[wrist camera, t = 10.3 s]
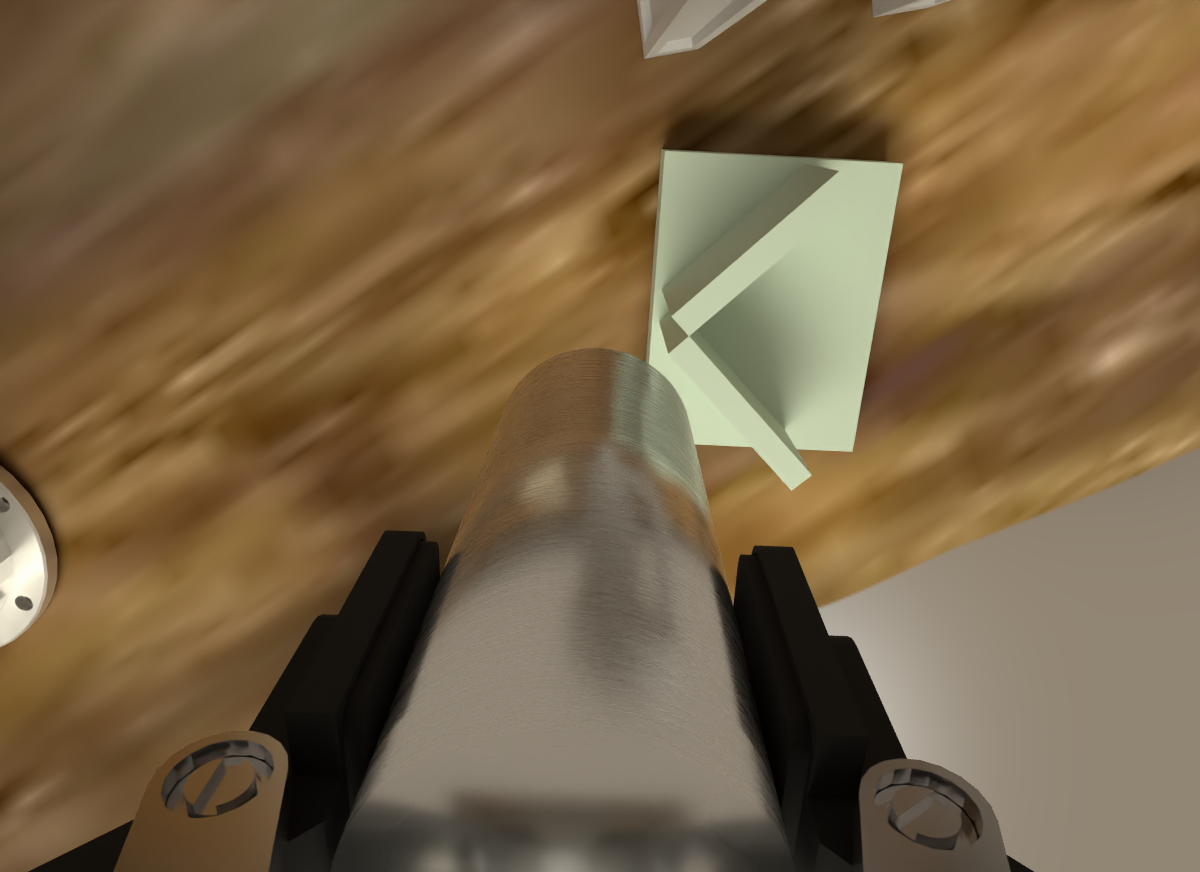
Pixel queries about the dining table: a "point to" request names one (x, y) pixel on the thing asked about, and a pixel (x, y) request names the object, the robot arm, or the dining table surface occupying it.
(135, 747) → the dining table surface
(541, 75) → the dining table surface
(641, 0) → the stool
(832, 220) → the v-block
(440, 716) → the steel axle
